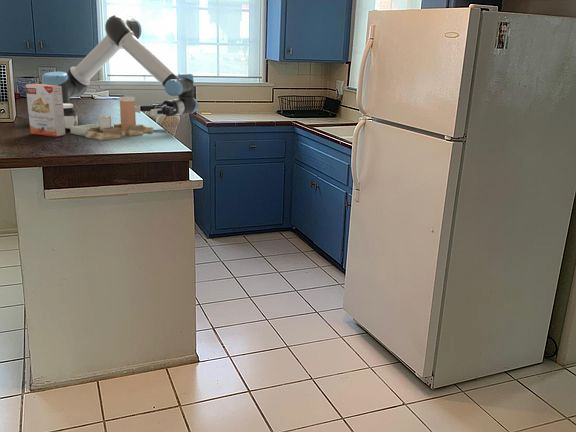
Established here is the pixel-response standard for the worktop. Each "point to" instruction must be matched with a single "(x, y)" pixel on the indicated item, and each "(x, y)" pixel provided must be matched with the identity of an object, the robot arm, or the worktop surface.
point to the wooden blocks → (117, 132)
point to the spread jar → (69, 117)
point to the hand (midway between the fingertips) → (140, 111)
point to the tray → (82, 129)
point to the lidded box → (127, 112)
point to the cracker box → (45, 109)
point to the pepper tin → (104, 122)
